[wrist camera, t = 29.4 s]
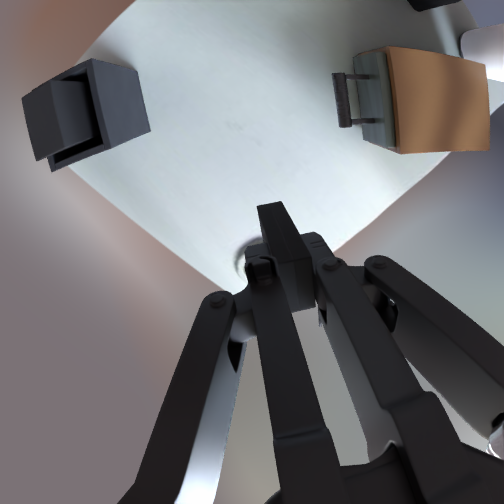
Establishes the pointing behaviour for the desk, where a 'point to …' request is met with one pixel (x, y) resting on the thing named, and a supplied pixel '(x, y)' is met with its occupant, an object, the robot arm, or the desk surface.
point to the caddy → (106, 109)
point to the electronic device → (429, 4)
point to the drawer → (368, 99)
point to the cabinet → (437, 101)
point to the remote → (60, 116)
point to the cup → (485, 49)
